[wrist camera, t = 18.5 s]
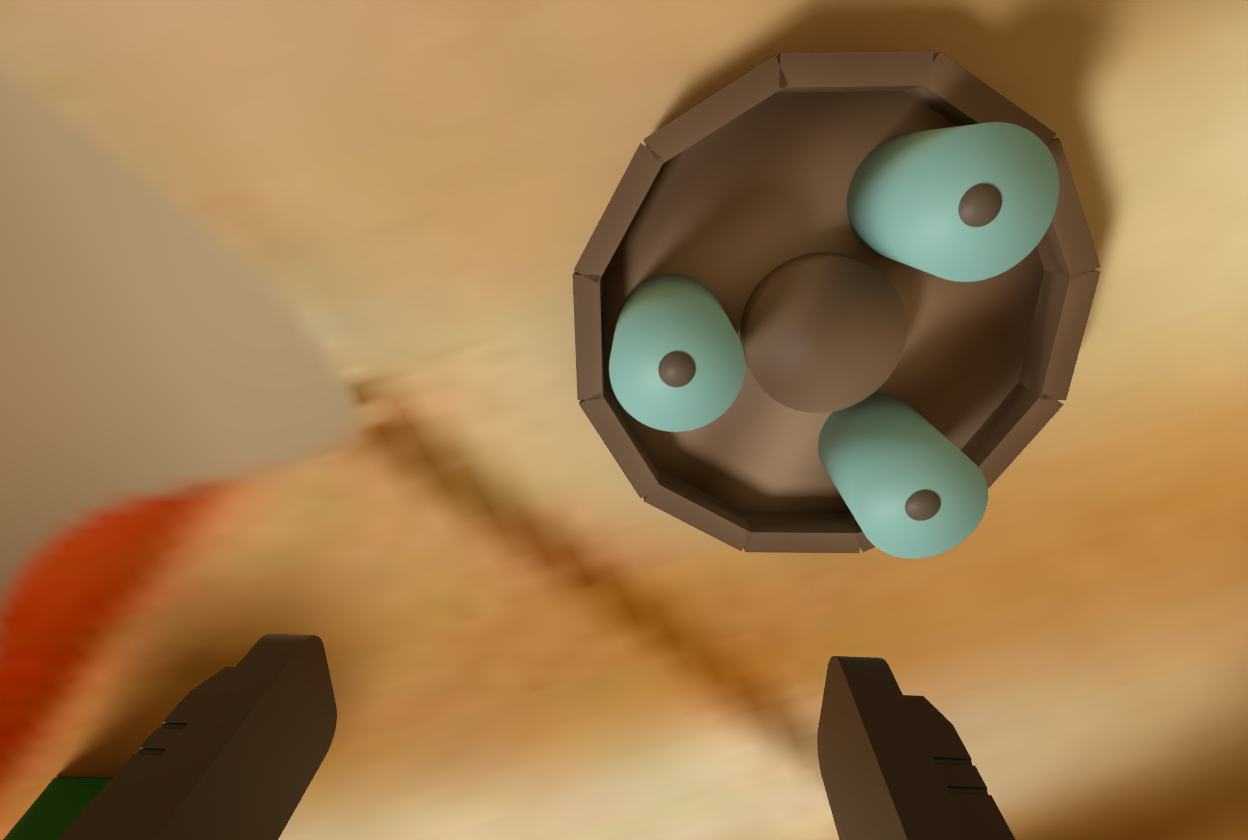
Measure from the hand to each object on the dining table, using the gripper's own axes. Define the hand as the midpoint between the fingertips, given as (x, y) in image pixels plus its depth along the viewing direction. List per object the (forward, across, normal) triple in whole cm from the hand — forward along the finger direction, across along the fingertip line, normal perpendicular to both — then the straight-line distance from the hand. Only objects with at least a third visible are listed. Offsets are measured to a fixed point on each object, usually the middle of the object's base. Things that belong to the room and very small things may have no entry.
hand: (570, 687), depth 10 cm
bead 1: (+18, -2, -2) cm, 18 cm away
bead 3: (+18, -11, +3) cm, 21 cm away
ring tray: (+19, -8, -2) cm, 20 cm away
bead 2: (+18, -10, -7) cm, 22 cm away
